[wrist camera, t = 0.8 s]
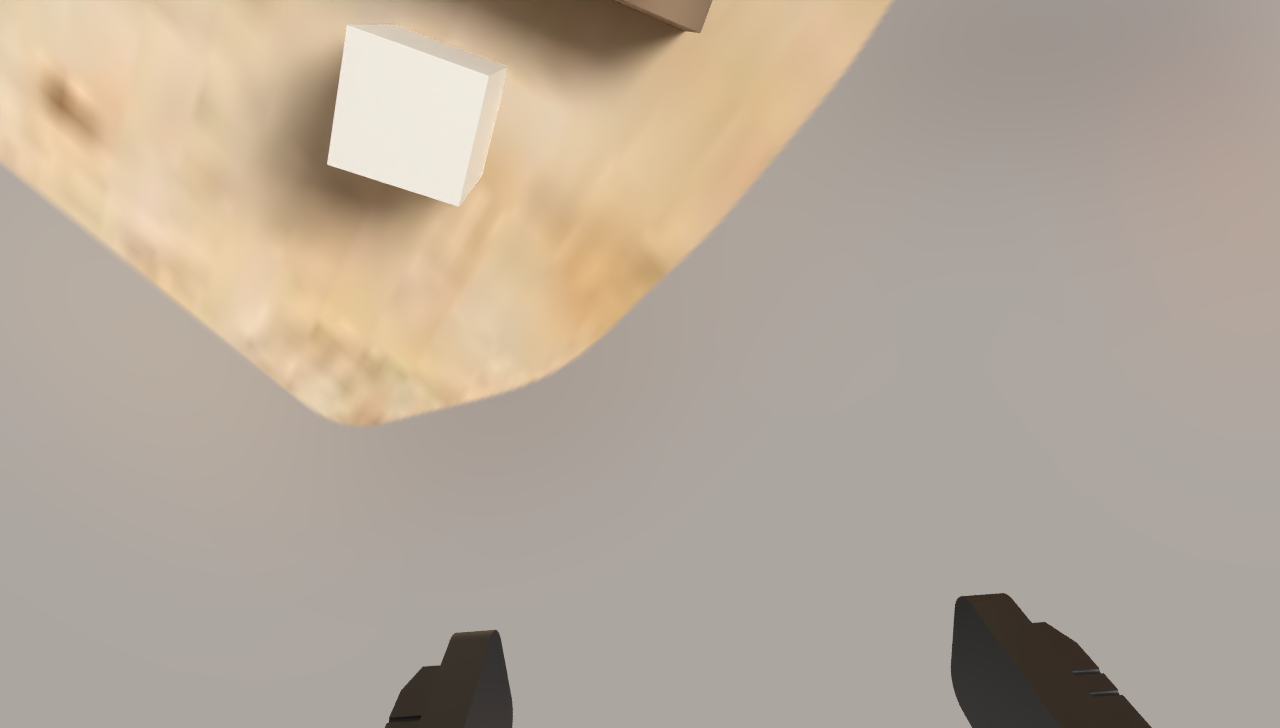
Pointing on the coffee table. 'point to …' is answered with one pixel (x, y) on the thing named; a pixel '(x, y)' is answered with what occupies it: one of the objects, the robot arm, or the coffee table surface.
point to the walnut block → (674, 11)
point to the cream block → (414, 111)
